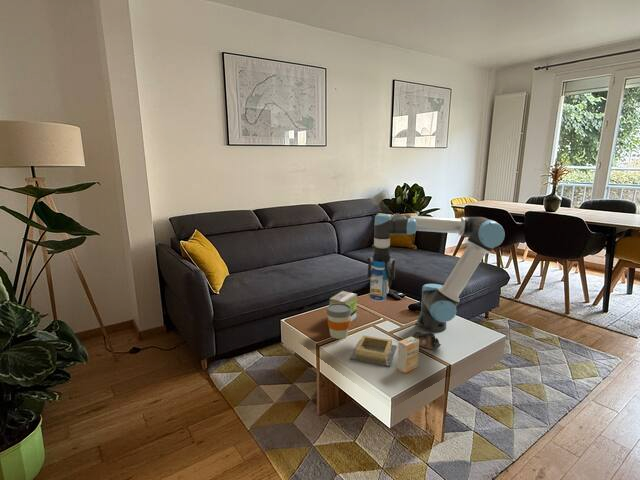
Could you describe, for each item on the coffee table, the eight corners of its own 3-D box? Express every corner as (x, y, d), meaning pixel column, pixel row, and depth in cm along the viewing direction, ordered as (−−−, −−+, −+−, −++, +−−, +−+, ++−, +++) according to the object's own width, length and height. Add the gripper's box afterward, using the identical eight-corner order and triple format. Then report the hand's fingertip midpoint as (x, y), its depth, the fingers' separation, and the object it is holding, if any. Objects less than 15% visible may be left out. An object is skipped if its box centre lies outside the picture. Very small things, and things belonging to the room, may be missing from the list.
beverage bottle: (389, 301, 175) (391, 261, 171) (373, 302, 173) (375, 263, 168) (381, 294, 183) (384, 257, 178) (366, 296, 181) (368, 258, 176)
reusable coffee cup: (325, 339, 179) (325, 312, 176) (328, 328, 191) (328, 302, 188) (350, 341, 177) (350, 313, 174) (351, 329, 189) (352, 303, 186)
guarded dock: (396, 347, 171) (396, 338, 170) (390, 367, 154) (390, 357, 153) (360, 341, 177) (360, 332, 176) (349, 359, 161) (350, 350, 160)
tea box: (344, 327, 192) (344, 302, 189) (328, 323, 197) (328, 298, 194) (357, 317, 204) (357, 293, 201) (341, 313, 209) (341, 290, 206)
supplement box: (405, 374, 149) (406, 345, 147) (396, 369, 153) (397, 341, 150) (418, 367, 154) (419, 339, 151) (409, 362, 158) (410, 335, 155)
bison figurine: (410, 342, 177) (415, 351, 167) (411, 328, 175) (415, 337, 165) (435, 342, 176) (441, 352, 166) (436, 329, 175) (442, 338, 165)
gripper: (402, 245, 172) (401, 291, 177) (364, 243, 178) (364, 287, 183) (400, 249, 165) (399, 296, 170) (360, 246, 171) (360, 292, 176)
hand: (380, 291), depth 176 cm, fingers closed on beverage bottle, 6 cm apart
